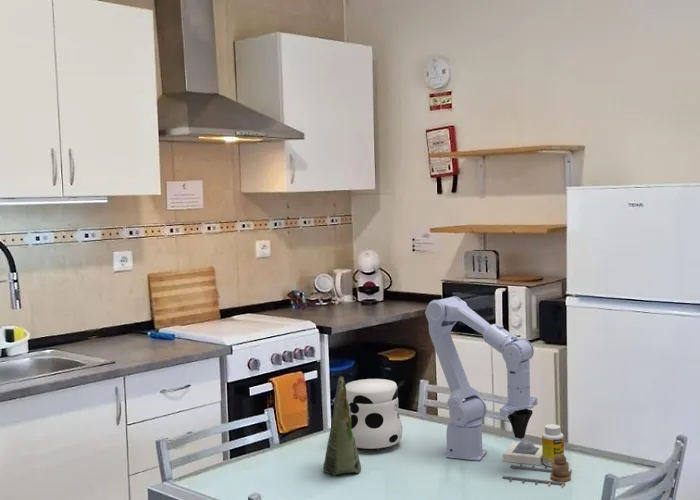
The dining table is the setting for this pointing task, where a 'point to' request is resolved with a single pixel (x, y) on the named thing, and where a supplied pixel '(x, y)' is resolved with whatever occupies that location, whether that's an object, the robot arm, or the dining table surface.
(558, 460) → the pawn
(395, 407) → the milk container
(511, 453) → the housing
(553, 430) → the supplement bottle
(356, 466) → the green tall cone
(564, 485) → the track
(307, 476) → the dining table surface
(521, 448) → the dome
